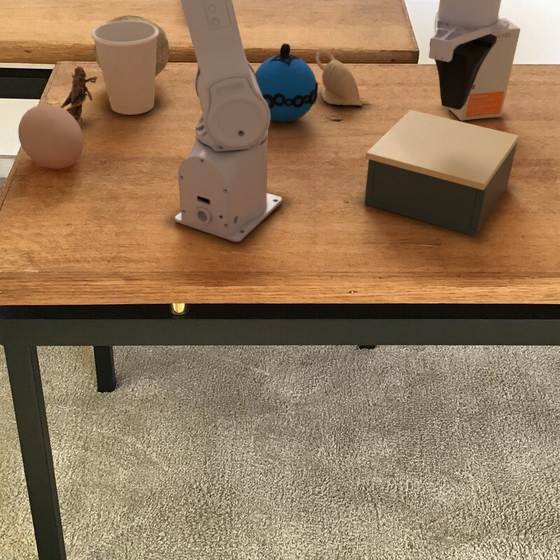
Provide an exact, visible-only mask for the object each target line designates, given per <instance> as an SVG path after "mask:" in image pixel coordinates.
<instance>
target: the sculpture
mask: <svg viewBox="0 0 560 560" xmlns="http://www.w3.org/2000/svg"><path fill="white" fill-rule="evenodd" d="M122 20H134V21H142V22H147V23H150V24H152V25H154V26H155V27H156V28H157V29H158V31H159V34H158V36H157V47H156V70H155V78H156V77H157V76H159V74H161V73H162V71H164V70H165V68H166V66H167V65H168V62H169V56H170V45H169V40H168V37H167V34H166V32H165V31H164V29H163V28H162V27H161V26H159V25H158V24H157V23H155V22H153V21H151V20H149V19H147V18H145V17H143V16H140V15H129V14H128V15H121V16H117V17H115V18H112V19H110V20H108V21H106V22H105V23H108V22H113V21H122ZM93 47H94V48H93V50H94V52H93V53H94V57H95V61H96V63H97V65H98V68H100V69H101V66H100V62H99V58H98V54H97V50H96V46H95V44H94V45H93Z"/></svg>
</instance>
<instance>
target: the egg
mask: <svg viewBox="0 0 560 560" xmlns="http://www.w3.org/2000/svg"><path fill="white" fill-rule="evenodd" d="M66 110H67V109H65V108H61V107H60V106H58V105H56V104H55V105H54V104H49V103H43V104H38V105H34V106H33V107H31V108H29V109H28V110H27V111H25V113H24V114H23V115H22V117H21V119H20V120H19V123H18V128H17V129H18V130H17V132H18V135H17V136H18V140H19V143H20V146H21V148H22V150H23V152H25V154H26V155H27V156H28V157H29V158H30V159H31V160H32V161H33V162H35V163H36V164H38V165H39V166H42V167H45V168H48V169H54V170H61V169H65V168H69V167H70V166H72V165H74V164H75V163H76V162H77V161H78V160H79V159H80V156H81V155H82V152H83V149H84V136H83V131H82V128H81V126H80V124H79V123H78V122H77V121H76V120H75V118H74V117H73V116H72V115H71V114H70V113H69V112H67V111H66Z"/></svg>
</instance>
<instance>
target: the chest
mask: <svg viewBox="0 0 560 560" xmlns="http://www.w3.org/2000/svg"><path fill="white" fill-rule="evenodd" d="M517 147H518V142H517V143H516V144H515V146H514V147H513V149H512V150H511V151H510V153H509V154H508V156H507V157H506V159H505V160H504V162H503V163H502V164H501V166H500V167H499V169H498V170H497V172H496V173H495V174H494V176H493V177H492V179H491V180H490V182H489V183H488V185H487V186H486V187H485V189H484V190H481V189H477V188H473V187H470V186H466V185H462V184H459V183H455V182H451V181H448V180H444V179H440V178H436V177H433V176H429V175H425V174H422V173H418V172H414V171H411V170H407V169H403V168H400V167H396V166H392V165H388V164H385V163H381V162H377V161H374V160H370V159H368V165H367V173H366V174H367V175H366V183H365V184H366V185H365V194H364V205H367V206H371V207H374V208H377V209H381V210H383V211H384V210H385V211H388V212H391V213H394V214H397V215H401V216H405V217H407V218H411V219H415V220H417V221H421V222H425V223H428V224H432V225H435V226H438V227H441V228H445V229H448V230H452V231H456V232H458V233H462V234H466V235H469V236H472V237H475V238H476V237H477V235H478V234H479V232H480V231H481V230H482V228H483V226H484V224H485V223H486V221H487V220H488V218H489V217H490V216H491V214H492V212H493V210H495V208H496V206H497V204H498V203H499V202H500V199H501V198H502V196H503V195H504V194H505V192H506V190H507V189H508V186H509V182H510V177H511V173H512V169H513V164H514V160H515V156H516V150H517Z"/></svg>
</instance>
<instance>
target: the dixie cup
mask: <svg viewBox="0 0 560 560" xmlns="http://www.w3.org/2000/svg"><path fill="white" fill-rule="evenodd" d="M107 22H108V21H107ZM158 34H159V31H158V29H157V28H156V27H155V26H154V25H152V24H150V23H147V22H142V21H134V20H122V21H113V22H108V23H106V22H105V23H102V24H100V25H98V26H96V27H95V28H93V30H92V31H91V33H90V36H91V39H93V42H94V45H95V46H96V50H97V54H98V58H99V62H100V66H101V68H100V70H101V73H102V78H103V81H104V85H105V89H106V92H107V97H108V100H109V104H110V108H111V110H112V111H114V112H115V113H117V114H120V115H130V116H131V115H140V114H144V113H147V112H149V111H151V110H152V109H154V107H155V91H156V90H155V89H156V77H155V70H156V47H157V36H158Z"/></svg>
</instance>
